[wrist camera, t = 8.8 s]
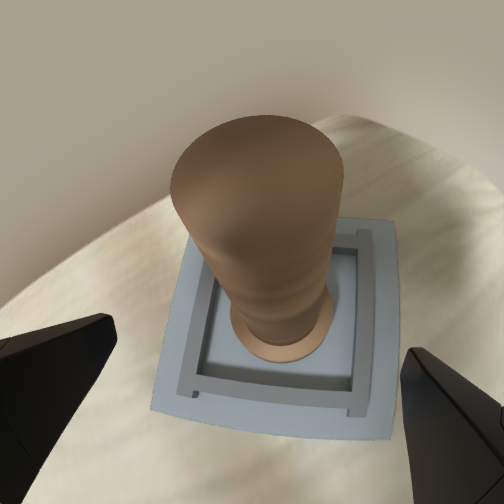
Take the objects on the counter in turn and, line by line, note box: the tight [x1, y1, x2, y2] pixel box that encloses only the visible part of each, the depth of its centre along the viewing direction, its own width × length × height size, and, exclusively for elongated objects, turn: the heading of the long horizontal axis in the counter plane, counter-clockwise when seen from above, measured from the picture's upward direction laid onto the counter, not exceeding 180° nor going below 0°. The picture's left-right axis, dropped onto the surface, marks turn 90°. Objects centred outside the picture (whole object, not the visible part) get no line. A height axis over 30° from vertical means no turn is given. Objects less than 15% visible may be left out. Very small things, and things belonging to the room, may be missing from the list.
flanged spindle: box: [170, 115, 344, 363], centre depth 13 cm, size 6×6×13 cm
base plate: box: [150, 217, 399, 440], centre depth 18 cm, size 15×15×4 cm
